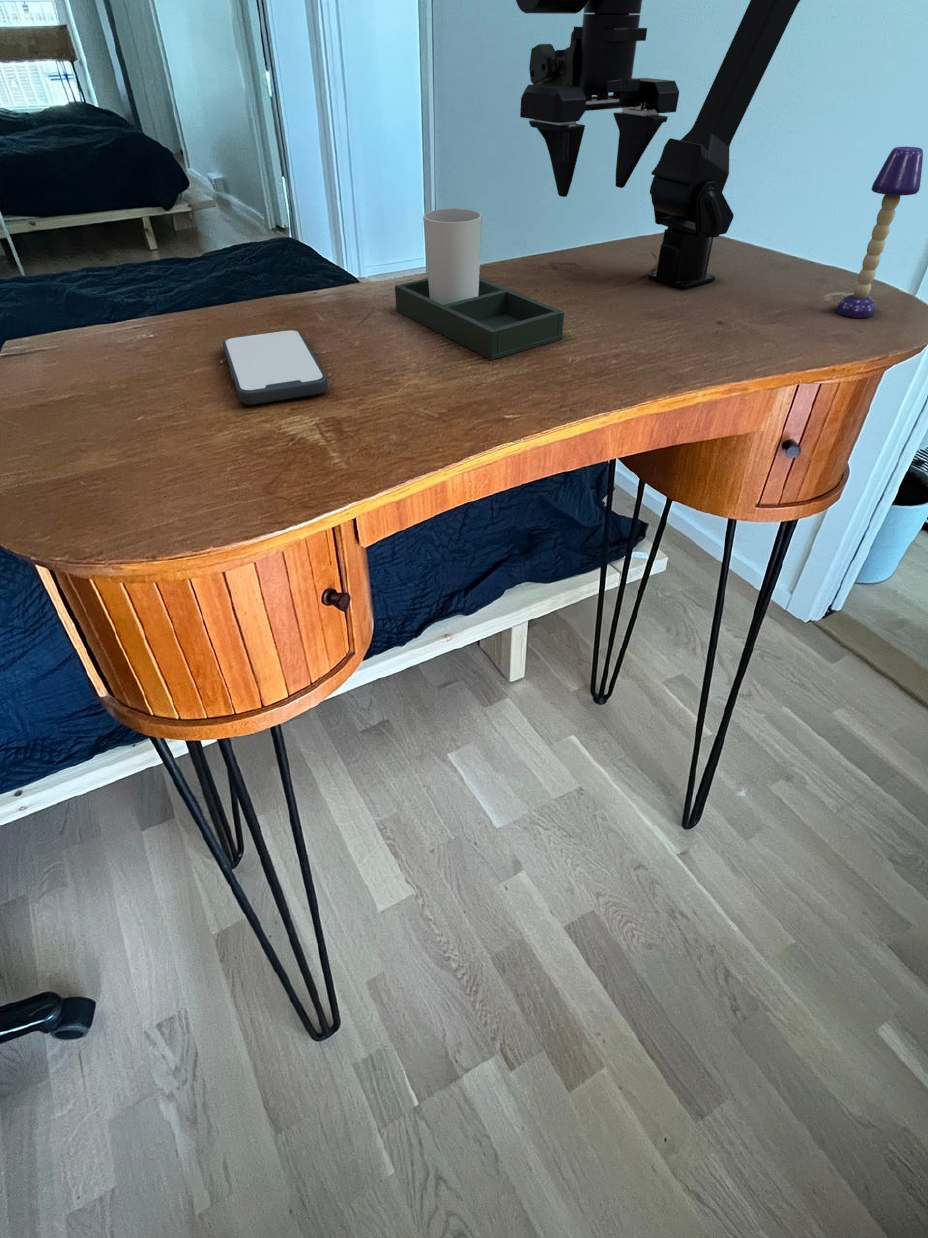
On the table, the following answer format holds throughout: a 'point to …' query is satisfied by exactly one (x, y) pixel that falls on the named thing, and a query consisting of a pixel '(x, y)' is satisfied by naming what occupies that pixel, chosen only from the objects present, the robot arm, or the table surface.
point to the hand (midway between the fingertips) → (591, 191)
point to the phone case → (273, 367)
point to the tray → (484, 318)
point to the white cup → (453, 253)
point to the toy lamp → (884, 222)
